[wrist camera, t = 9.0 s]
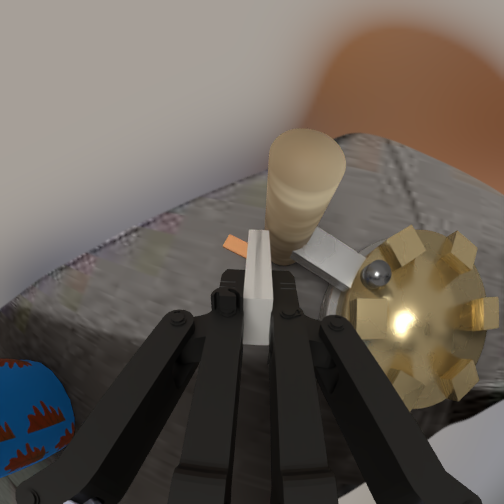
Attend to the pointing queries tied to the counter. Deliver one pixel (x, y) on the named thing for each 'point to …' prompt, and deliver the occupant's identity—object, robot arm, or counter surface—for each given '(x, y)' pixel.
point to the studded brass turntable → (383, 277)
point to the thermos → (31, 415)
